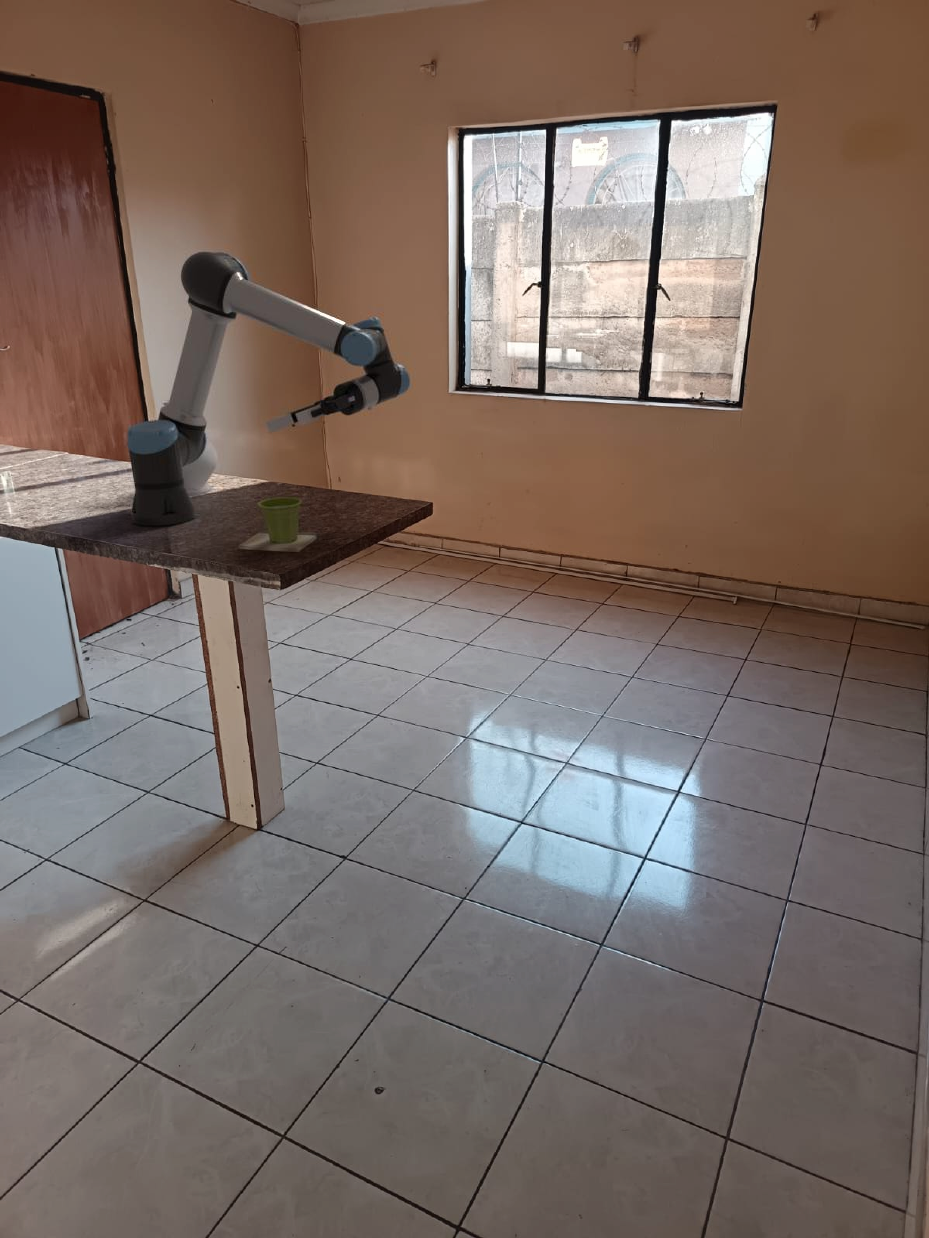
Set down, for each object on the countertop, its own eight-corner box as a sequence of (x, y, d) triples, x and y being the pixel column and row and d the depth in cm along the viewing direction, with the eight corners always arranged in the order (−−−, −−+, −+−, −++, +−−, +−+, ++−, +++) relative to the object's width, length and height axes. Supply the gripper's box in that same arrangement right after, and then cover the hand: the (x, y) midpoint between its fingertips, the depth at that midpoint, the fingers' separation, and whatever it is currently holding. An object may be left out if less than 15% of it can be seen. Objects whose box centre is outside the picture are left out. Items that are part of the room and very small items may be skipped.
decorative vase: (207, 481, 258) (197, 395, 249) (231, 491, 244) (220, 401, 235) (147, 490, 248) (134, 401, 239) (168, 501, 235) (155, 407, 225)
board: (238, 549, 191) (238, 545, 190) (262, 534, 202) (262, 530, 201) (298, 552, 188) (297, 548, 187) (318, 537, 199) (318, 533, 198)
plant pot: (263, 547, 189) (259, 508, 185) (261, 536, 197) (257, 499, 194) (306, 543, 191) (303, 505, 188) (302, 532, 199) (299, 495, 196)
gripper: (390, 403, 200) (317, 432, 188) (332, 418, 219) (263, 445, 207) (379, 371, 197) (305, 399, 185) (322, 388, 216) (251, 414, 204)
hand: (283, 423), depth 196 cm, fingers open, 13 cm apart
